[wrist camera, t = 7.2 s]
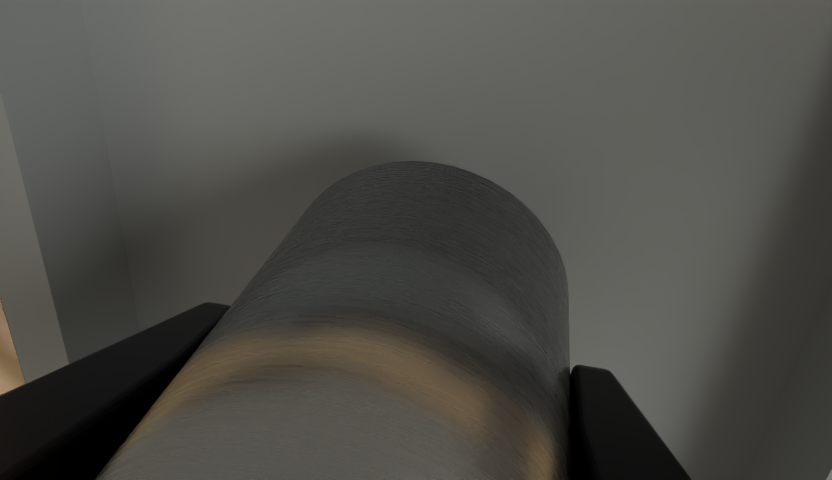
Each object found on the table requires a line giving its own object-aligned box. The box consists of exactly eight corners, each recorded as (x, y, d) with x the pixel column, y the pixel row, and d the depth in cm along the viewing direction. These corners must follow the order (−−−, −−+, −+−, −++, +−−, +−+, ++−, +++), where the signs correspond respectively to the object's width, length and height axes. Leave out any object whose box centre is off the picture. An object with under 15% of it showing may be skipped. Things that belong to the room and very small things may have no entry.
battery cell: (595, 183, 8) (681, 928, 2) (543, 425, 10) (520, 1155, 4) (282, 142, 9) (-281, 660, 3) (291, 379, 10) (-32, 970, 5)
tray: (1237, -525, 6) (1689, -797, 4) (718, 594, 15) (749, 741, 13) (-29, -506, 8) (-291, -681, 6) (157, 477, 17) (85, 583, 15)
